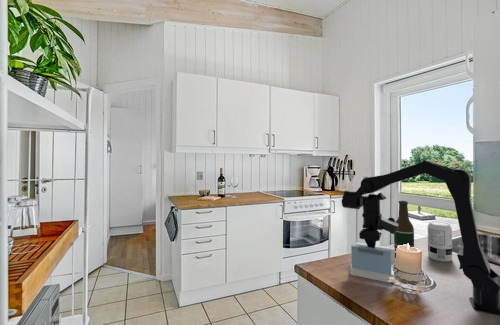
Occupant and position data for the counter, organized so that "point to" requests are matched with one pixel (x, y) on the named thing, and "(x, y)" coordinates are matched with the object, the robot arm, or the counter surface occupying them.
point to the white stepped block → (374, 274)
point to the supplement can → (440, 241)
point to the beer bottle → (403, 227)
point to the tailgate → (371, 259)
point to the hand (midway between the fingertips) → (372, 252)
